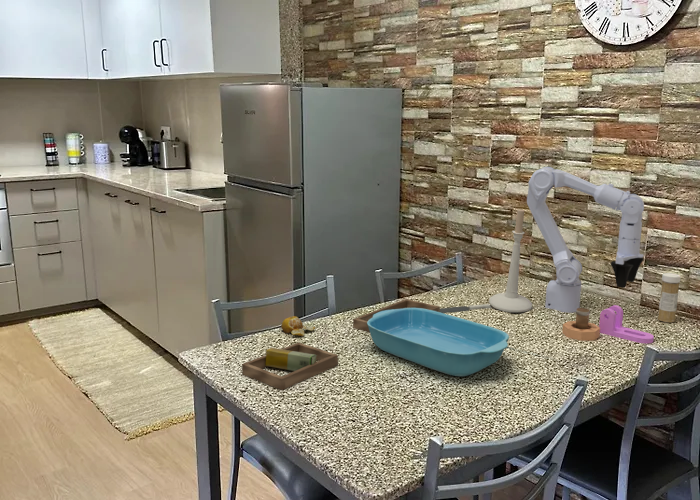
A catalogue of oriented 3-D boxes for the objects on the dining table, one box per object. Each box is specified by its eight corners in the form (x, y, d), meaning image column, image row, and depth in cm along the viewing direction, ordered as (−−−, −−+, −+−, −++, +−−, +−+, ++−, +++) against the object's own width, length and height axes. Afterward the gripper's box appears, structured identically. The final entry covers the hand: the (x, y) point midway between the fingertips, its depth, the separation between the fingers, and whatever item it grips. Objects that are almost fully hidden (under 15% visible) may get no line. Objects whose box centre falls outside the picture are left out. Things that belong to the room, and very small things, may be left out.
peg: (572, 335, 169) (574, 310, 167) (577, 332, 171) (579, 307, 170) (584, 338, 166) (586, 312, 165) (589, 334, 169) (591, 309, 167)
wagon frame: (353, 327, 175) (353, 319, 175) (406, 306, 194) (406, 298, 193) (387, 337, 167) (387, 328, 167) (439, 314, 186) (439, 306, 185)
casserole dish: (525, 362, 151) (527, 333, 150) (472, 390, 136) (473, 359, 134) (406, 326, 177) (406, 301, 175) (350, 347, 161) (349, 320, 160)
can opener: (489, 317, 195) (490, 302, 194) (498, 324, 189) (499, 308, 188) (429, 321, 192) (430, 305, 191) (436, 328, 186) (436, 311, 185)
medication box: (316, 371, 146) (317, 354, 145) (311, 374, 143) (312, 357, 143) (270, 363, 150) (270, 346, 149) (264, 366, 147) (265, 349, 147)
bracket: (598, 333, 171) (600, 308, 169) (608, 328, 174) (610, 303, 173) (647, 345, 161) (650, 319, 160) (656, 340, 165) (659, 314, 164)
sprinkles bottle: (662, 317, 183) (668, 271, 180) (678, 321, 179) (684, 275, 177) (654, 319, 180) (659, 273, 178) (669, 324, 177) (675, 277, 174)
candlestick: (490, 310, 189) (500, 212, 179) (487, 294, 201) (496, 202, 191) (534, 314, 187) (547, 215, 178) (529, 297, 199) (540, 204, 190)
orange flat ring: (558, 335, 168) (558, 326, 168) (571, 327, 175) (571, 318, 174) (590, 343, 163) (591, 334, 162) (602, 334, 169) (603, 325, 169)
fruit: (298, 337, 166) (297, 324, 165) (274, 333, 171) (273, 320, 170) (317, 328, 173) (316, 315, 172) (293, 324, 177) (292, 312, 177)
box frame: (242, 374, 144) (242, 364, 144) (298, 352, 158) (298, 342, 157) (281, 390, 136) (281, 379, 135) (338, 365, 149) (337, 355, 149)
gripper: (636, 243, 172) (631, 292, 175) (652, 235, 183) (647, 281, 185) (609, 240, 176) (605, 287, 179) (626, 232, 187) (622, 277, 190)
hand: (625, 284), depth 183 cm, fingers open, 7 cm apart
